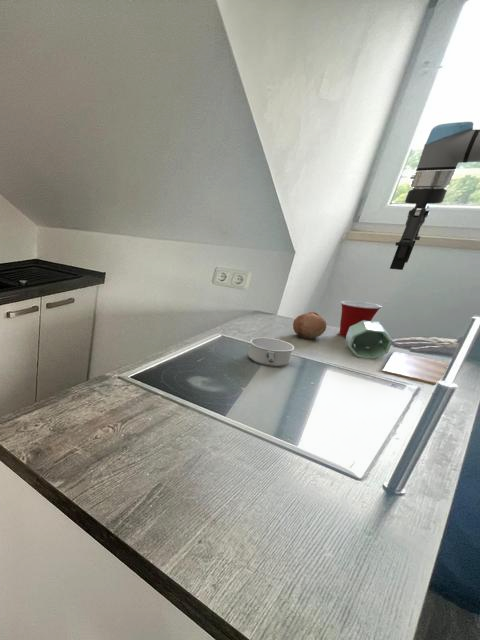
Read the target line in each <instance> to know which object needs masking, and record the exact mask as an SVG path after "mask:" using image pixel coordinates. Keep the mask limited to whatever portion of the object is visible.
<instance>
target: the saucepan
mask: <svg viewBox="0 0 480 640" xmlns="http://www.w3.org/2000/svg"><path fill="white" fill-rule="evenodd" d="M249 342H250V346H249V348H248V353H247V357H248V358H250V359H251V360H252V361H254V362H255V363H257V364H260V365H262V366H268V367H280V366H284V365H287V364H288V363H289V362H290V359H291V355H292V351H294V350H295V346H294V345H293V344H292V343H291V342H288V341H285V340H282V339H277V338H273V337H253V338H251V339H249Z"/></svg>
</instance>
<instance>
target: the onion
mask: <svg viewBox="0 0 480 640" xmlns="http://www.w3.org/2000/svg"><path fill="white" fill-rule="evenodd" d="M292 330H293V331H294V333H295V334H296V335H297V336H298V337H300V338H302V339H305V340H306V339H317V338H318V337H321V336H322V334H324V333H325V332H326V330H327V322H326V320H325V318H323V317H322V316H320V315H319V314H318V313H317V312H315V311H309V312H307V313H303V314H300V315H298V316H296V318H294V320H293V323H292Z"/></svg>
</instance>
